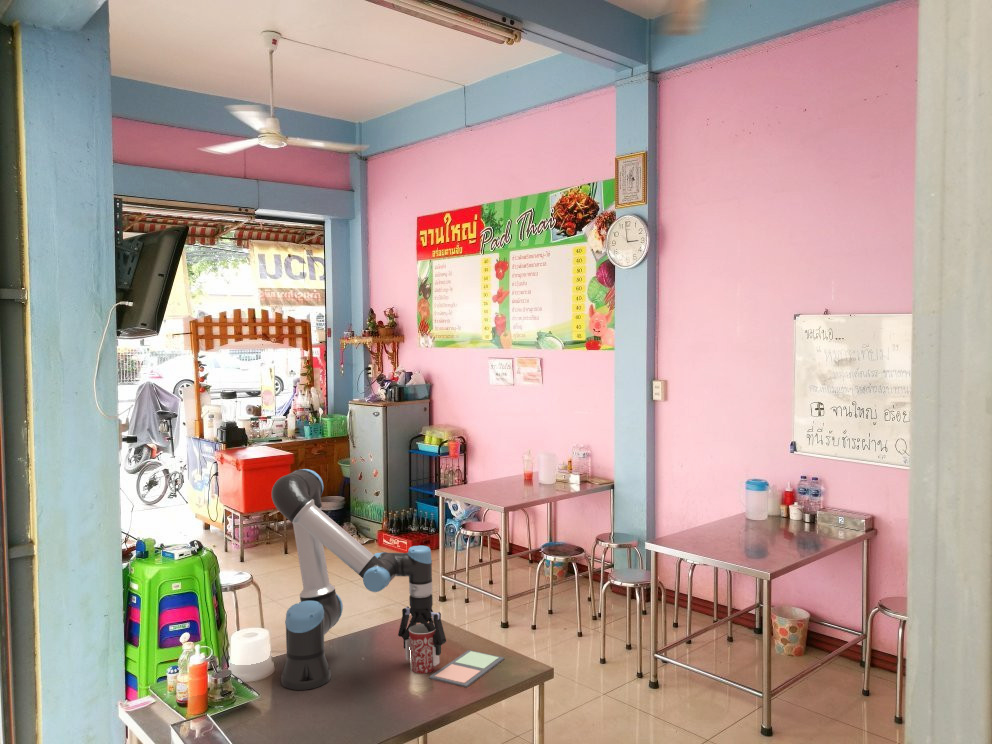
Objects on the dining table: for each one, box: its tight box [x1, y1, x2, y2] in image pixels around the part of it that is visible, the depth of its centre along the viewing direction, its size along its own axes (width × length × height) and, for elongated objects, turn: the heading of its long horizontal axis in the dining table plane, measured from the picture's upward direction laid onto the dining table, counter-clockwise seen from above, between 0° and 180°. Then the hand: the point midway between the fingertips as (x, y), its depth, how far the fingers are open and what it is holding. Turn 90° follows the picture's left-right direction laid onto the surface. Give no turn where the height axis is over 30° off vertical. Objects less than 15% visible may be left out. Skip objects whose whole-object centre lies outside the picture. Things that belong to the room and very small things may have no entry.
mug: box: [409, 623, 436, 675], centre depth 252 cm, size 13×9×14 cm
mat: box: [428, 649, 505, 689], centre depth 250 cm, size 14×24×1 cm, turn 151°
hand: (422, 661), depth 252 cm, fingers closed on mug, 10 cm apart
